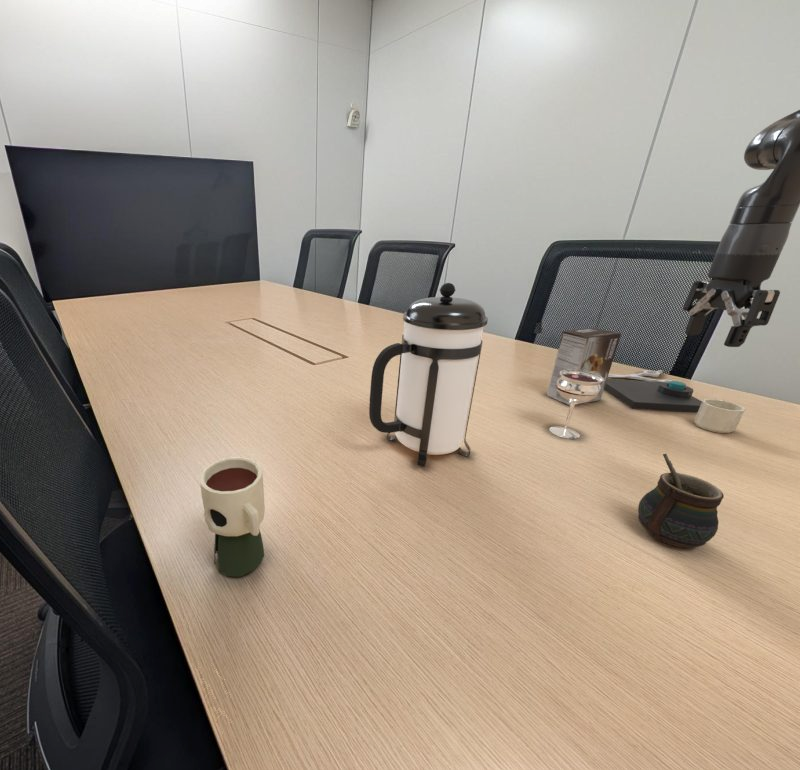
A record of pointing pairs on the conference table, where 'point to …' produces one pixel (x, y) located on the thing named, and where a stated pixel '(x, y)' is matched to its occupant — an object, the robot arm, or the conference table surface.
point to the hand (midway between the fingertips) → (710, 340)
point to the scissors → (645, 373)
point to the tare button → (677, 385)
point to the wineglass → (576, 395)
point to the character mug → (234, 512)
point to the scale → (653, 395)
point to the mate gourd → (681, 509)
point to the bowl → (719, 415)
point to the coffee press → (432, 374)
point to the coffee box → (584, 356)
